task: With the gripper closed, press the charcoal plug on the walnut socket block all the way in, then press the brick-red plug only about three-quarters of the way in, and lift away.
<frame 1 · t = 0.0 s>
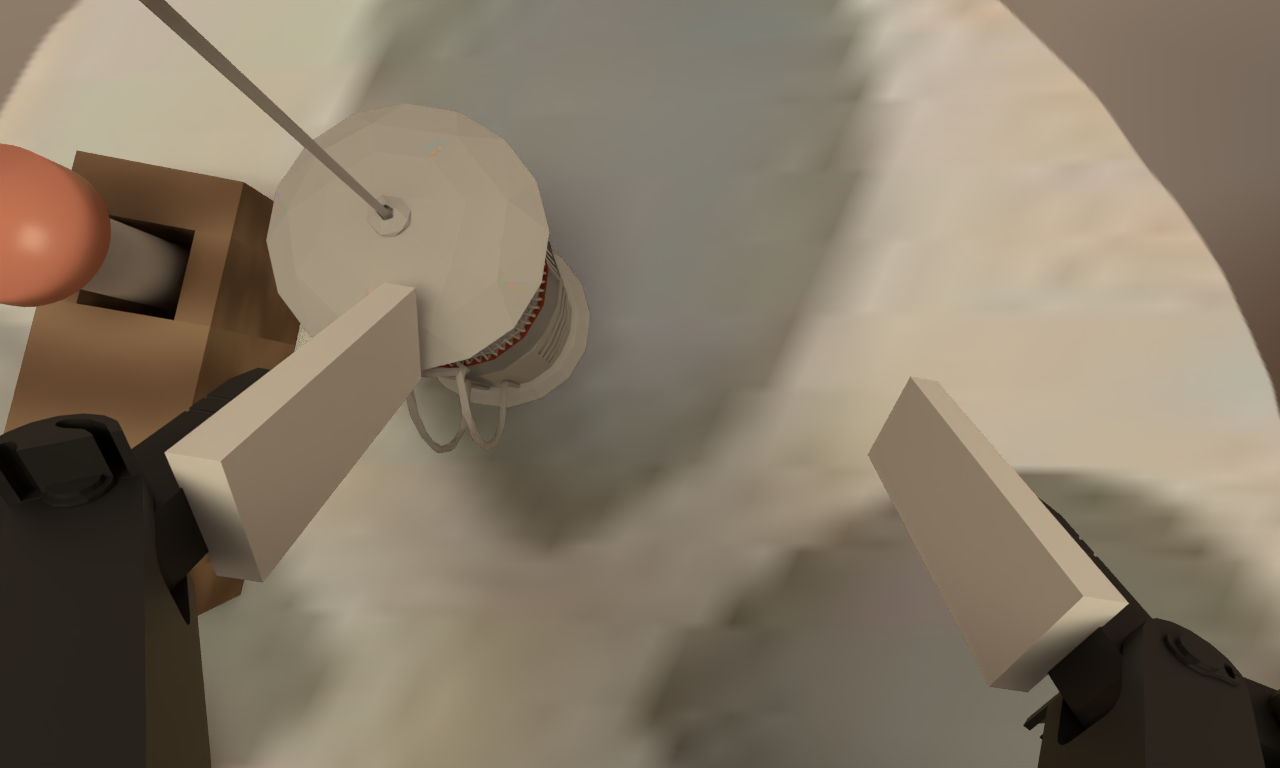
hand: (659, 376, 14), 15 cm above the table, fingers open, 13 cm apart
socket block: (214, 397, 27), on the table
red plug: (99, 254, 20), point 8 cm above the table, slide at 0.0 cm
french press: (504, 336, 29), on the table
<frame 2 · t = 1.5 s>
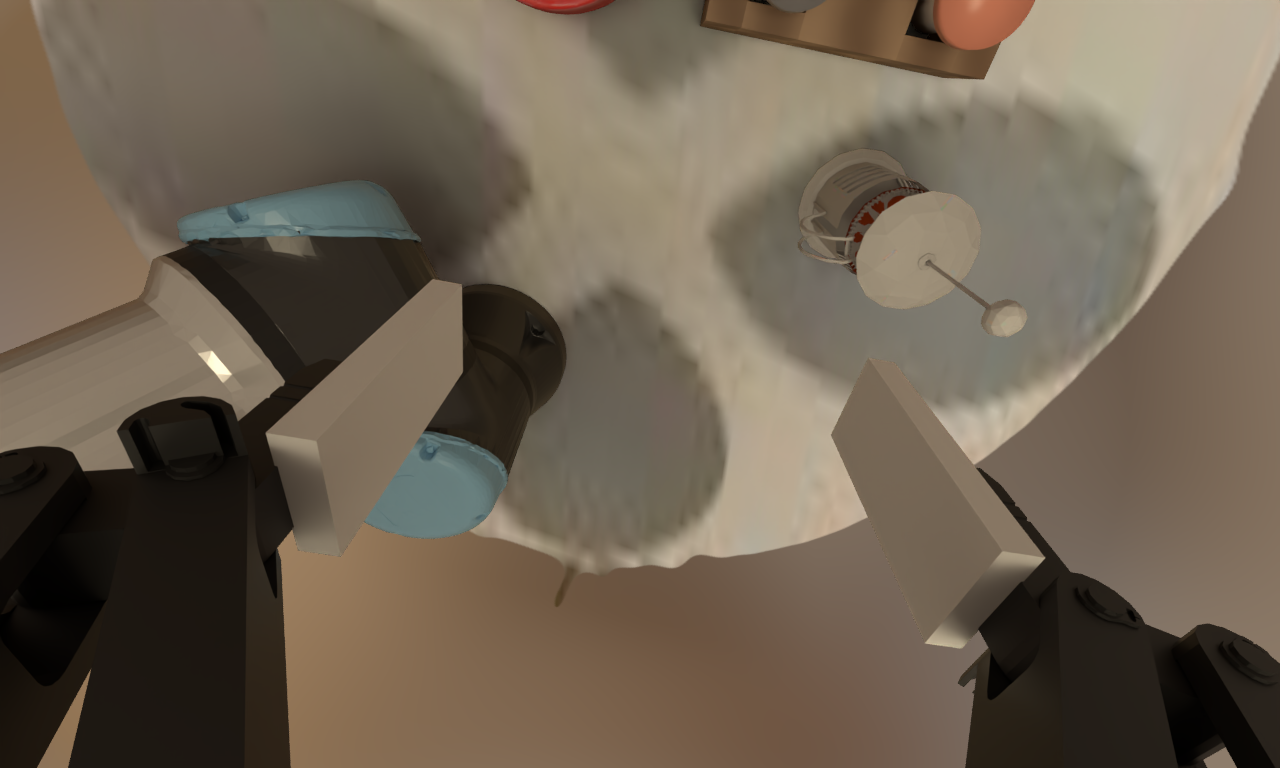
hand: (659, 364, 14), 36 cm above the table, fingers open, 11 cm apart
red plug: (959, 2, 32), point 8 cm above the table, slide at 0.0 cm
french press: (842, 207, 46), on the table
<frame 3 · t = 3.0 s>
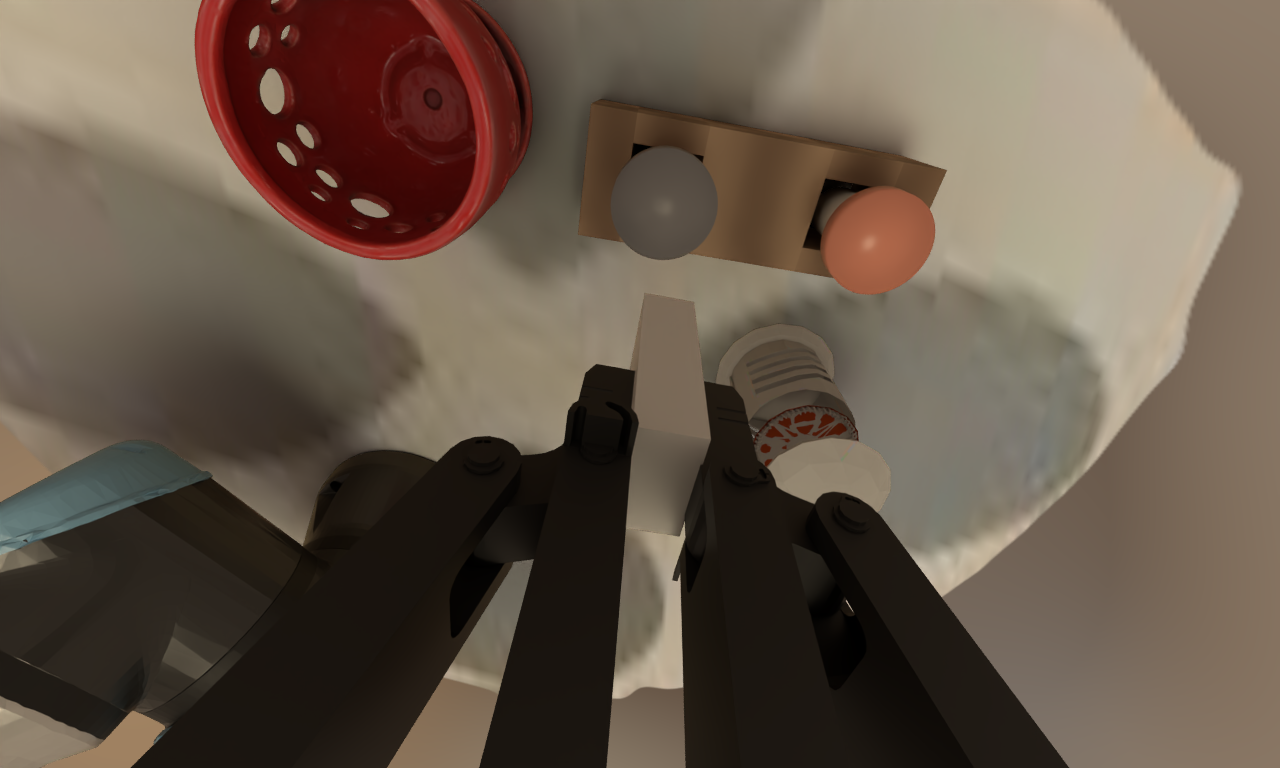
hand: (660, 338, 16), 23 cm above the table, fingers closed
socket block: (740, 184, 35), on the table
charcoal plug: (662, 192, 28), point 8 cm above the table, slide at 0.0 cm
plant pot: (443, 105, 33), on the table
red plug: (855, 226, 28), point 8 cm above the table, slide at 0.0 cm
french press: (763, 376, 43), on the table
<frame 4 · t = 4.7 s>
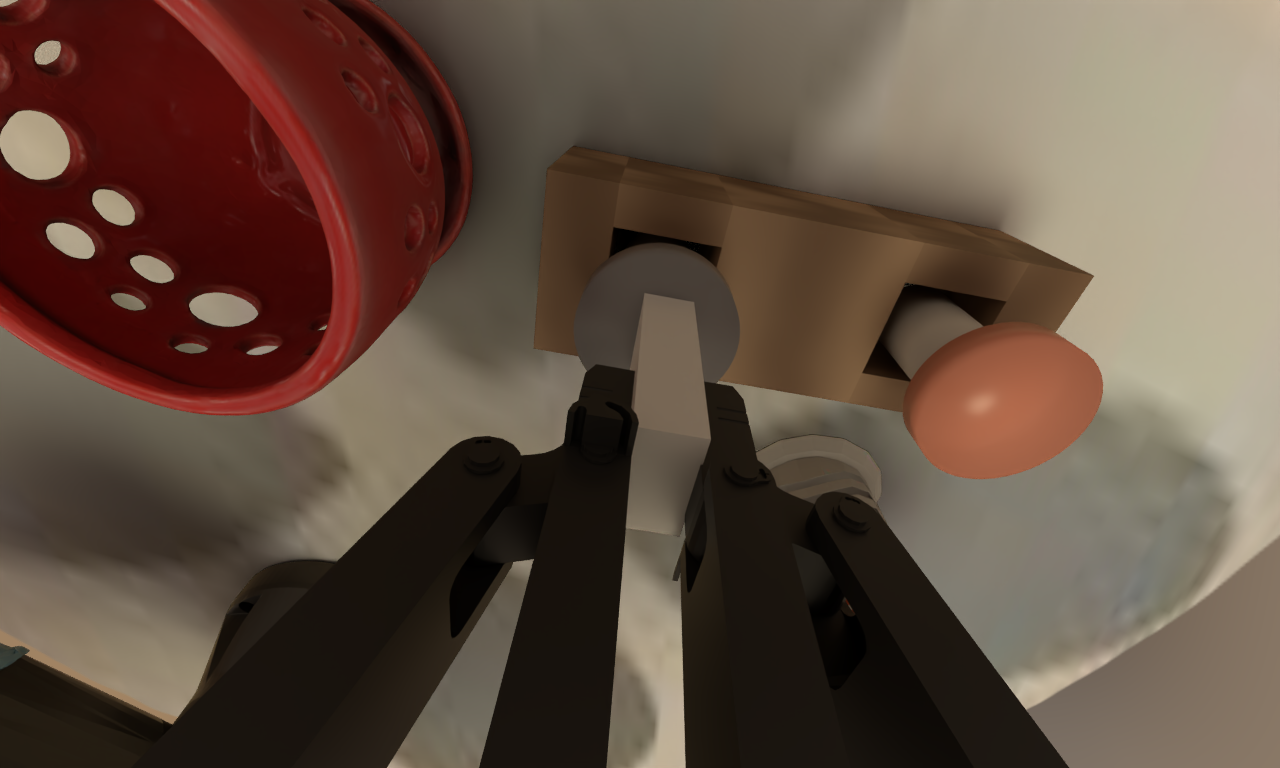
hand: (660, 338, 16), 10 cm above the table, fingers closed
socket block: (768, 263, 25), on the table
charcoal plug: (657, 293, 19), point 6 cm above the table, slide at 1.2 cm, touching gripper
plant pot: (349, 149, 23), on the table
red plug: (950, 358, 19), point 8 cm above the table, slide at 0.0 cm
french press: (788, 493, 33), on the table
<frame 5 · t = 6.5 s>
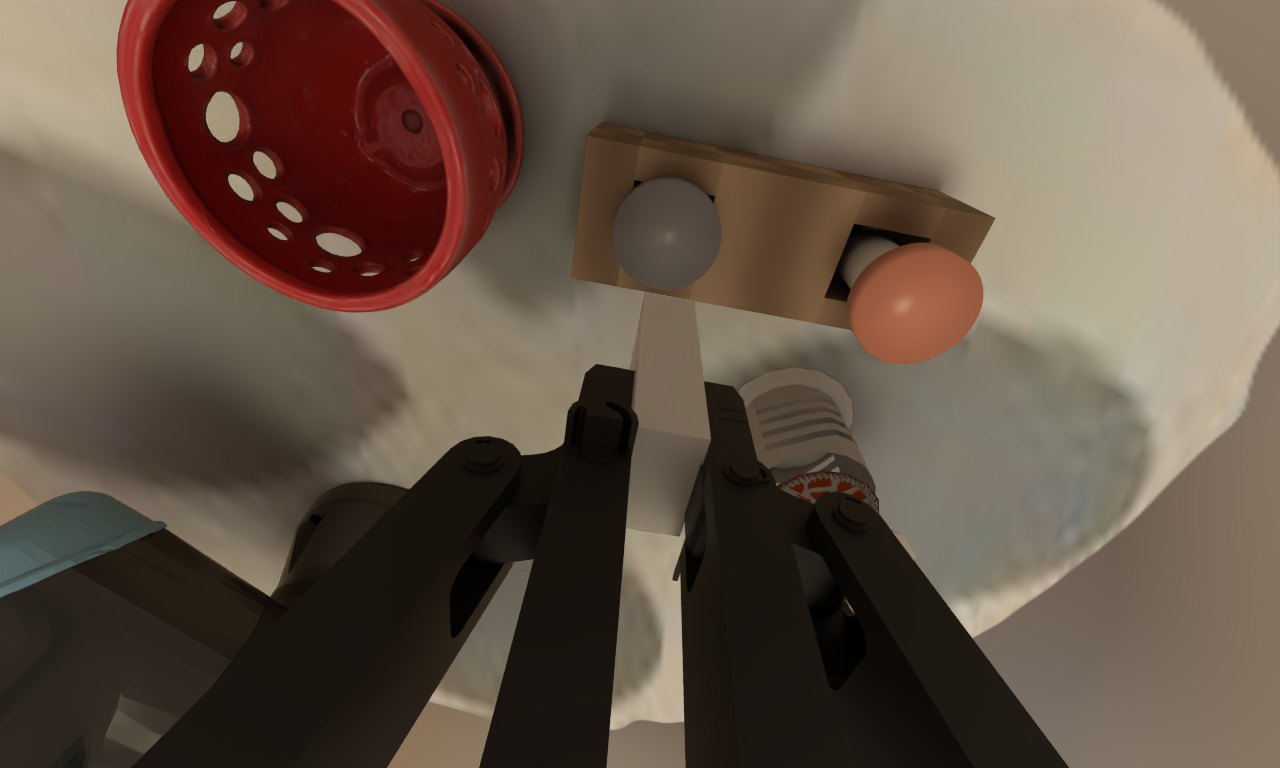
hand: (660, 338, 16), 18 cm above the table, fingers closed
socket block: (755, 218, 31), on the table
charcoal plug: (666, 218, 27), point 4 cm above the table, slide at 3.6 cm
plant pot: (426, 125, 29), on the table
red plug: (886, 280, 25), point 8 cm above the table, slide at 0.0 cm
french press: (774, 420, 39), on the table
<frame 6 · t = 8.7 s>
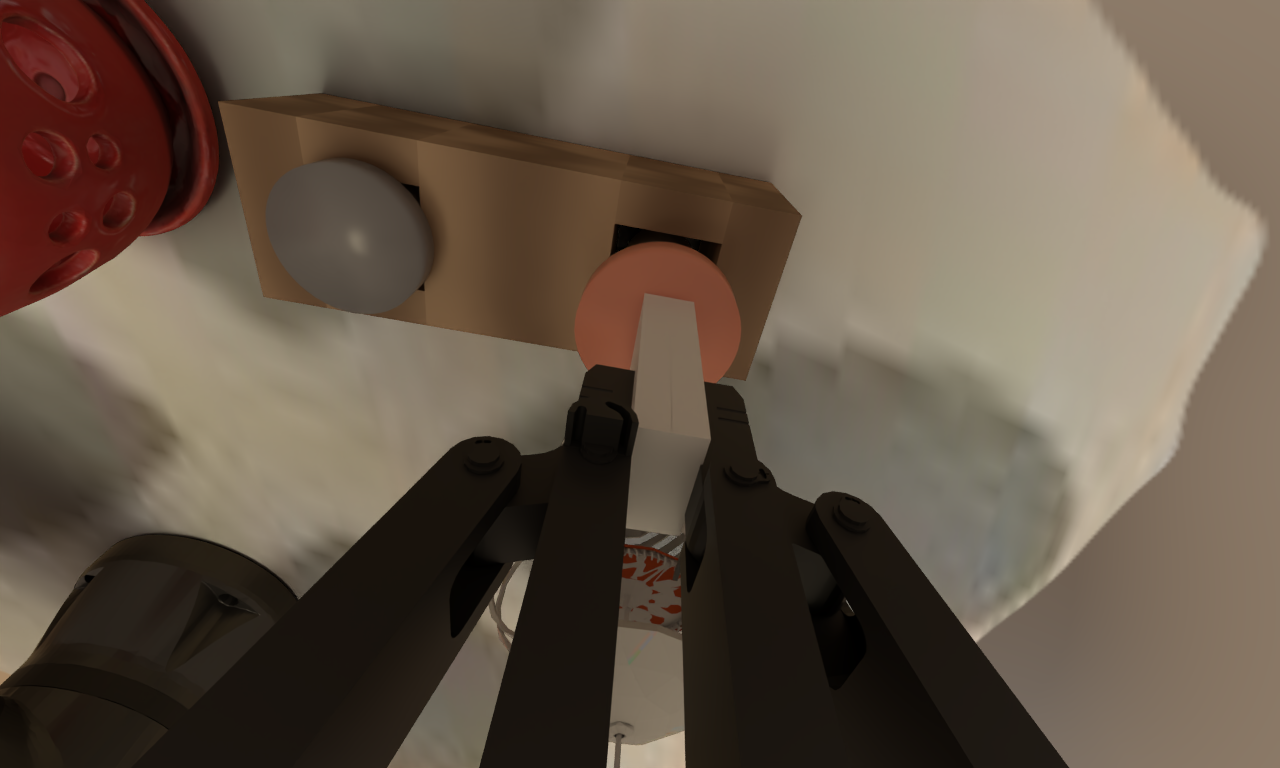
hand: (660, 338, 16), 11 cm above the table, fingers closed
socket block: (546, 218, 24), on the table
charcoal plug: (391, 218, 21), point 4 cm above the table, slide at 3.6 cm
plant pot: (100, 98, 22), on the table
red plug: (658, 292, 19), point 7 cm above the table, slide at 0.9 cm, touching gripper
french press: (622, 462, 32), on the table
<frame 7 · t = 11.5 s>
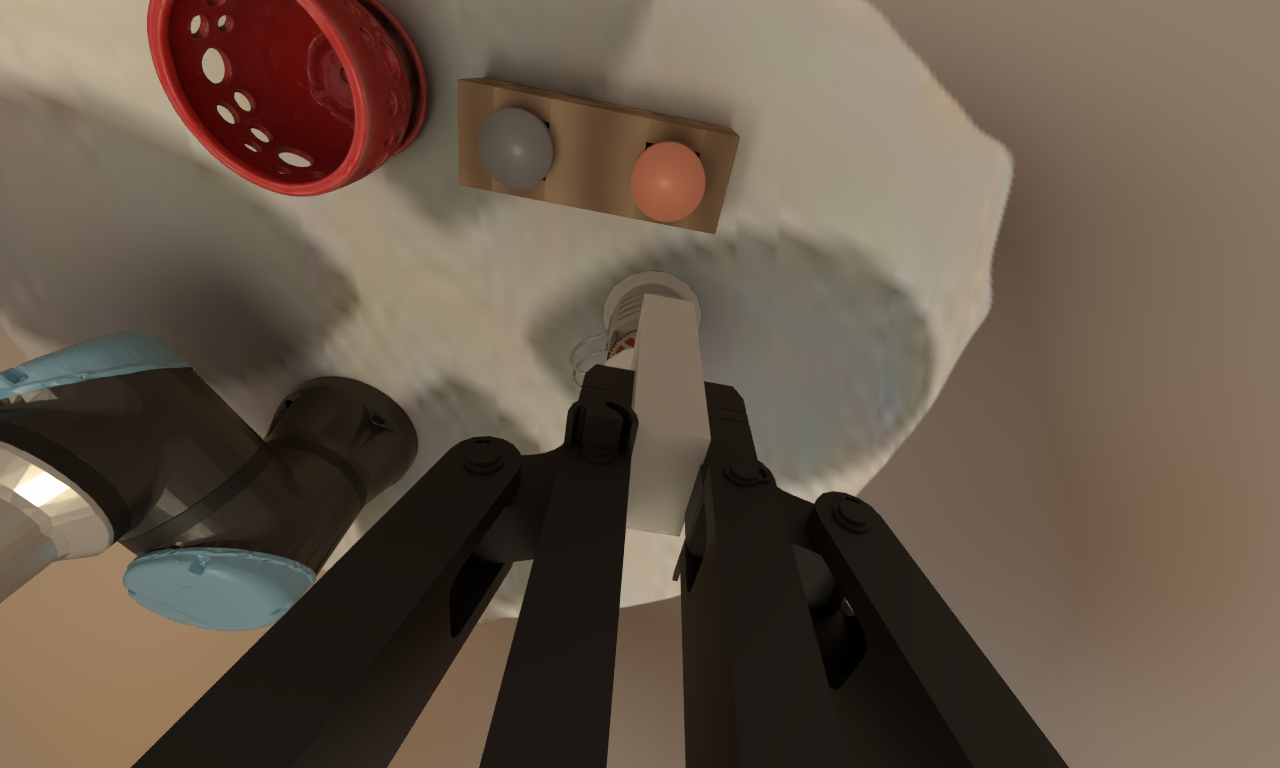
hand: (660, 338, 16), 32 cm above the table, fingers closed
socket block: (603, 150, 42), on the table
charcoal plug: (526, 143, 39), point 4 cm above the table, slide at 3.6 cm
plant pot: (360, 80, 41), on the table
red plug: (667, 174, 38), point 5 cm above the table, slide at 2.4 cm
french press: (643, 317, 51), on the table
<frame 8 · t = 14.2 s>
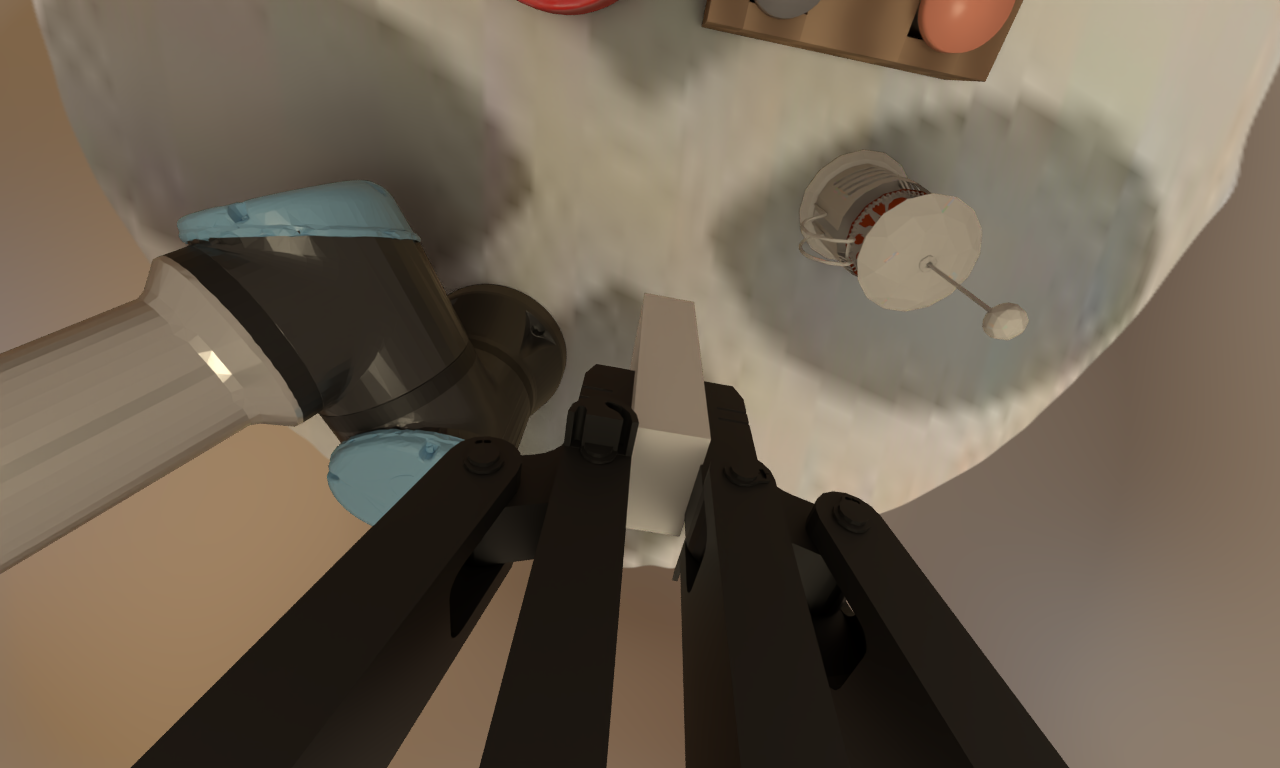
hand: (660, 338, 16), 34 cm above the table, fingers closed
red plug: (943, 8, 34), point 5 cm above the table, slide at 2.4 cm
french press: (843, 208, 46), on the table
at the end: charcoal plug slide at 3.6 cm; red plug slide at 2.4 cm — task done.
